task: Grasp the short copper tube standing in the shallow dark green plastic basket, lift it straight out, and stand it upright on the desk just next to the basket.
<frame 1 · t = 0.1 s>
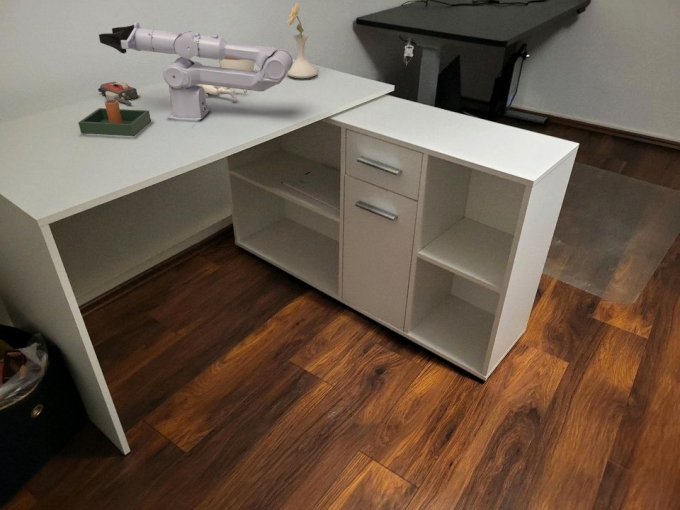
hand: (106, 35, 142), 22 cm above the table, tool horizontal, fingers open, 7 cm apart
superhero figure: (208, 94, 171), on the table
flower in vase: (301, 77, 188), on the table
tube: (117, 126, 143), point 1 cm above the table, touching basket
walkie-talkie: (122, 99, 165), on the table
basket: (117, 128, 144), on the table
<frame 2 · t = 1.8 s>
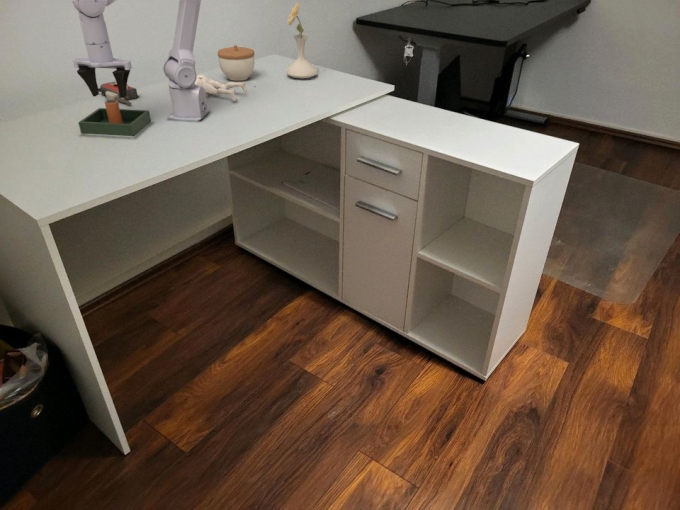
hand: (109, 96, 138), 9 cm above the table, tool pointing down, fingers open, 7 cm apart
nothing on the table moved.
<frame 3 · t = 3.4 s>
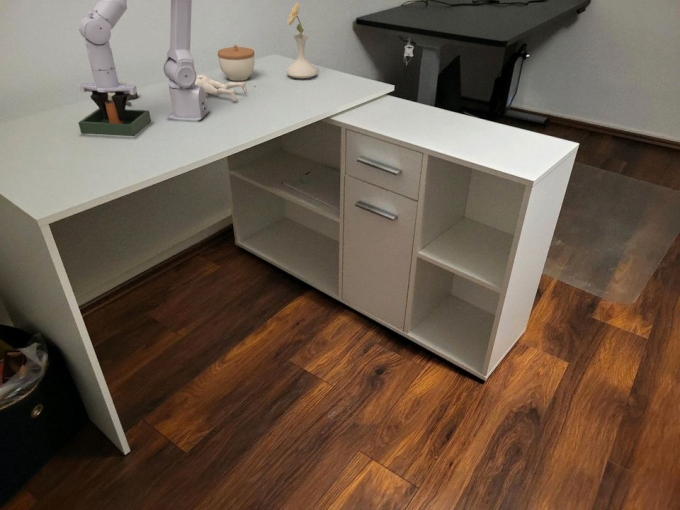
hand: (115, 119, 142), 3 cm above the table, tool pointing down, fingers closed on tube, 3 cm apart
tube: (117, 126, 143), point 1 cm above the table, touching basket, gripper
everything else where it was.
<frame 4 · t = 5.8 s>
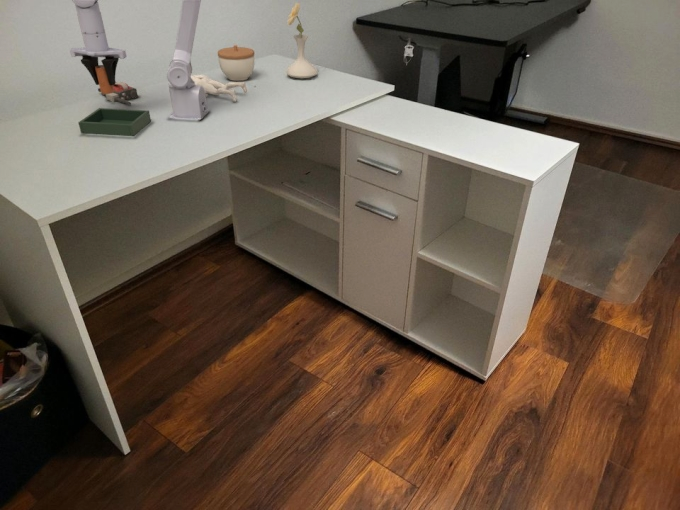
hand: (105, 84, 144), 10 cm above the table, tool pointing down, fingers closed on tube, 3 cm apart
tube: (107, 92, 146), point 8 cm above the table, touching gripper
everything else where it was.
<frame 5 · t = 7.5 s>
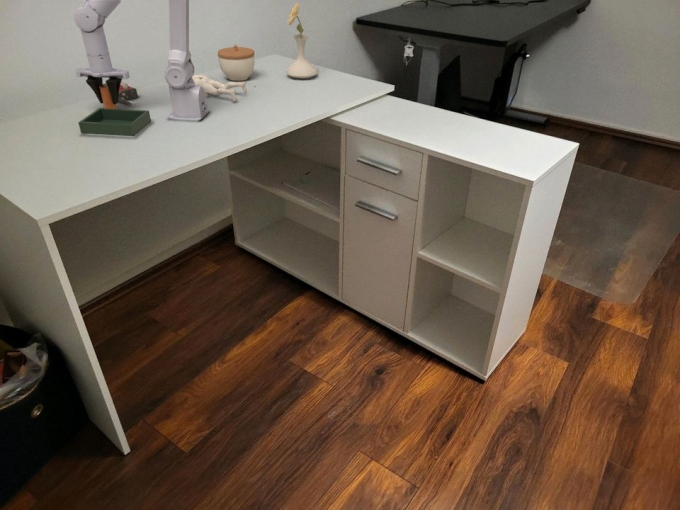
hand: (109, 102, 151), 4 cm above the table, tool pointing down, fingers closed on tube, 3 cm apart
tube: (111, 110, 152), point 1 cm above the table, touching gripper
everything else where it was.
when the fingers open (2 cm above the table, at t = 8.3 s): tube stays where it is, on the table.
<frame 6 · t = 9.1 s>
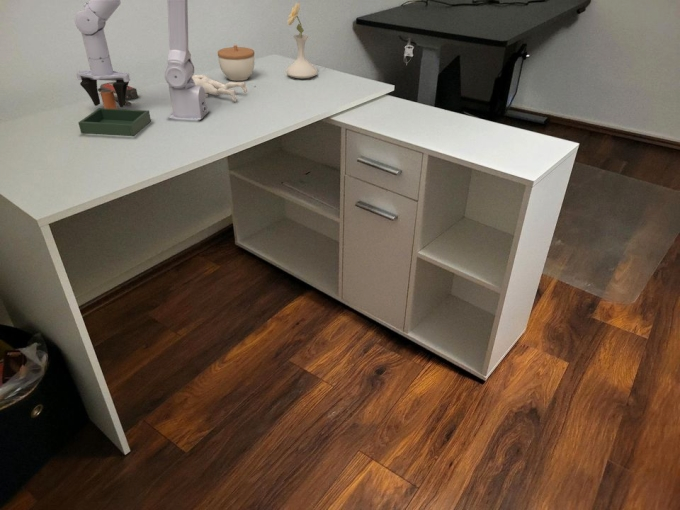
hand: (110, 105, 151), 3 cm above the table, tool pointing down, fingers open, 7 cm apart
tube: (112, 114, 153), on the table
everything else where it was.
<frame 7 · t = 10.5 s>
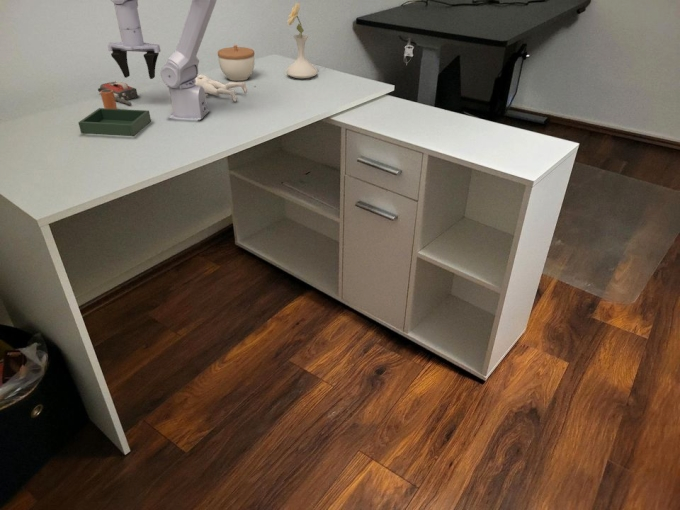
hand: (139, 77, 152), 9 cm above the table, tool pointing down, fingers open, 7 cm apart
nothing on the table moved.
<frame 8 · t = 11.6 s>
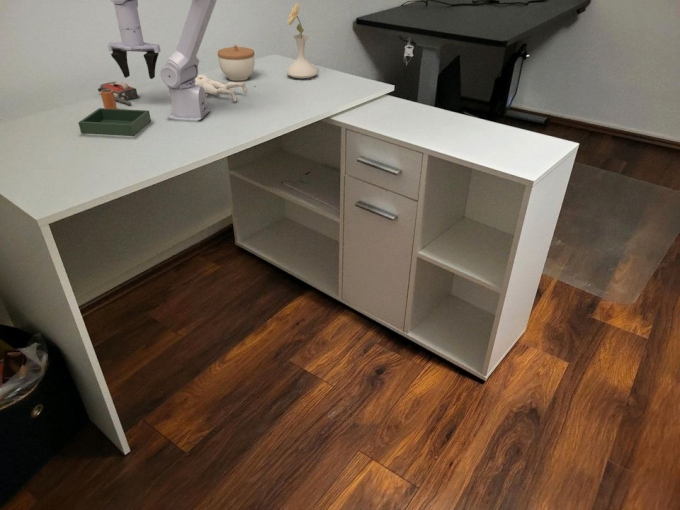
hand: (139, 77, 152), 9 cm above the table, tool pointing down, fingers open, 7 cm apart
nothing on the table moved.
at the end: tube 0.0 cm from the target spot, on the table; tube tilted 0°; the gripper is holding nothing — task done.
